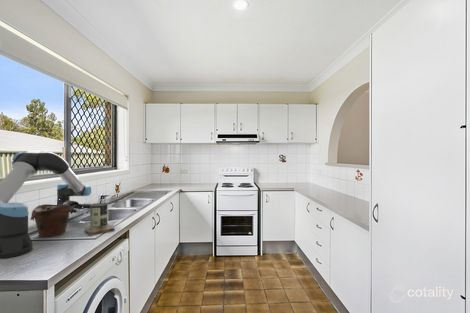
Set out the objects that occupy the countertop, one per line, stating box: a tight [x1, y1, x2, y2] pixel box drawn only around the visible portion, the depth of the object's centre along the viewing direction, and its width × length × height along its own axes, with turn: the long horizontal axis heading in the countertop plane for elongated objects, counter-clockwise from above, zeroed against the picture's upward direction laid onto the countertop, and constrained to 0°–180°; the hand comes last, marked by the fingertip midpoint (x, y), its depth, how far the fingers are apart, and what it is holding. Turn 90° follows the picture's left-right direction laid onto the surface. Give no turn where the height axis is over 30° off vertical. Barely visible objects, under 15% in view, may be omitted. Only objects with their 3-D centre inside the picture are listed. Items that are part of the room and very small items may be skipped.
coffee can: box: [89, 202, 109, 228], centre depth 165 cm, size 10×10×14 cm
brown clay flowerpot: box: [29, 203, 72, 238], centre depth 149 cm, size 18×20×18 cm
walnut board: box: [84, 224, 116, 236], centre depth 154 cm, size 14×11×2 cm
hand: (89, 209), depth 169 cm, fingers open, 13 cm apart
